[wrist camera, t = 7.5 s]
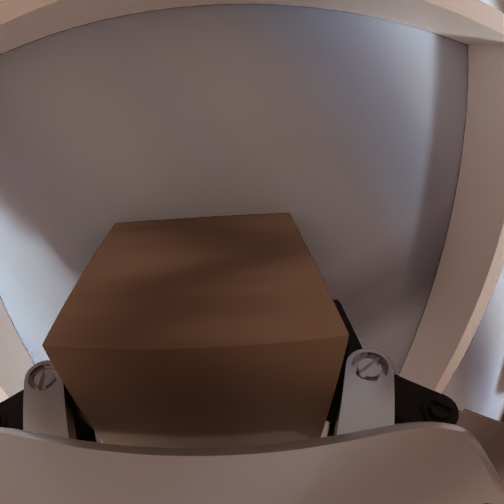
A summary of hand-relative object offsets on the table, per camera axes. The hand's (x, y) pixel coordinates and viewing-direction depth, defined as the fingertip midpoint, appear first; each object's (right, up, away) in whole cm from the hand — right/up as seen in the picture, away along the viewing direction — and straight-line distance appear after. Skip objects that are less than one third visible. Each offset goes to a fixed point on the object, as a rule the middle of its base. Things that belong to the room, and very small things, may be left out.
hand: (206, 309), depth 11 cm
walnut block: (0, +1, +1) cm, 1 cm away
